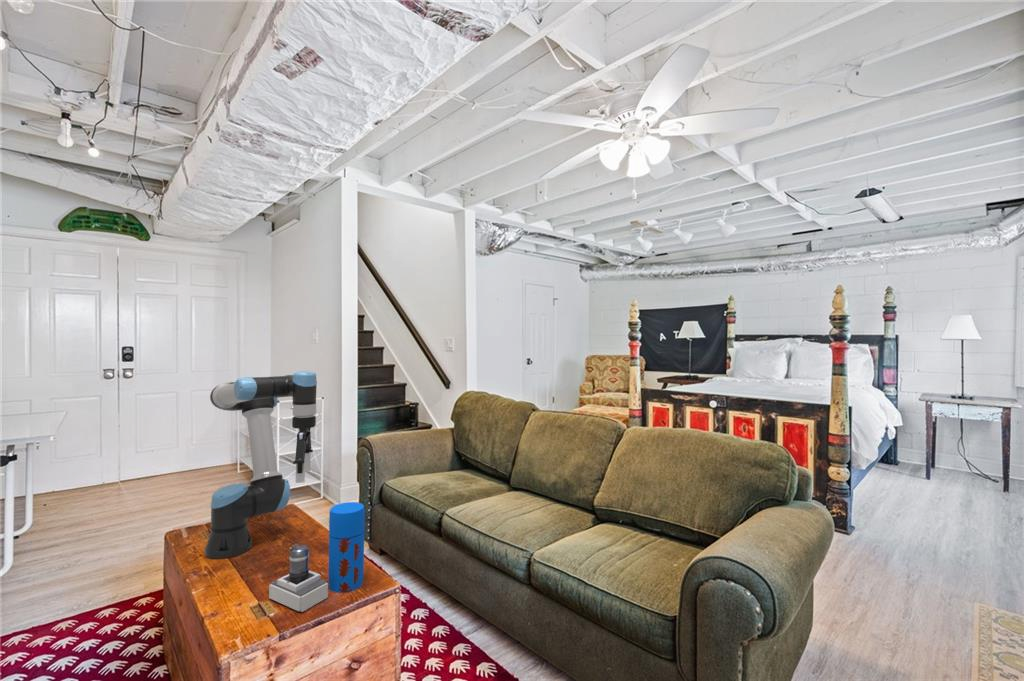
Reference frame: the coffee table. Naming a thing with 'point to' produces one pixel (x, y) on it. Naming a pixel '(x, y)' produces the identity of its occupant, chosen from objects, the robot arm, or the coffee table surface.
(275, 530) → the coffee table surface
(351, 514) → the thermos
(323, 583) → the grey square frame
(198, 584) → the coffee table surface
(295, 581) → the lens
